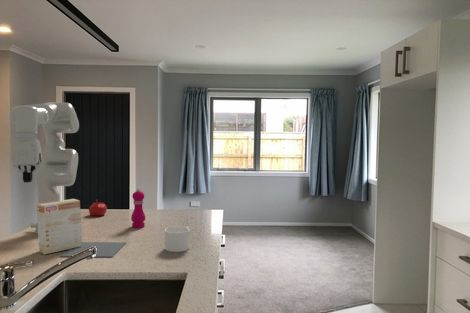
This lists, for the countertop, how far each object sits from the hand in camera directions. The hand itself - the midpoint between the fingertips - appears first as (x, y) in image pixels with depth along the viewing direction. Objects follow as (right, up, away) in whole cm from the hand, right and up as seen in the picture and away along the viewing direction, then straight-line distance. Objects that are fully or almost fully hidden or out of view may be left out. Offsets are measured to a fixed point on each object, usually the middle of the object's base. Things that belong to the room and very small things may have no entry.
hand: (27, 182), depth 150 cm
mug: (+60, -29, +7) cm, 67 cm away
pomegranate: (+3, -25, +68) cm, 72 cm away
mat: (+27, -28, +2) cm, 39 cm away
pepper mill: (+34, -26, +42) cm, 60 cm away
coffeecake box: (+13, -28, +2) cm, 30 cm away
